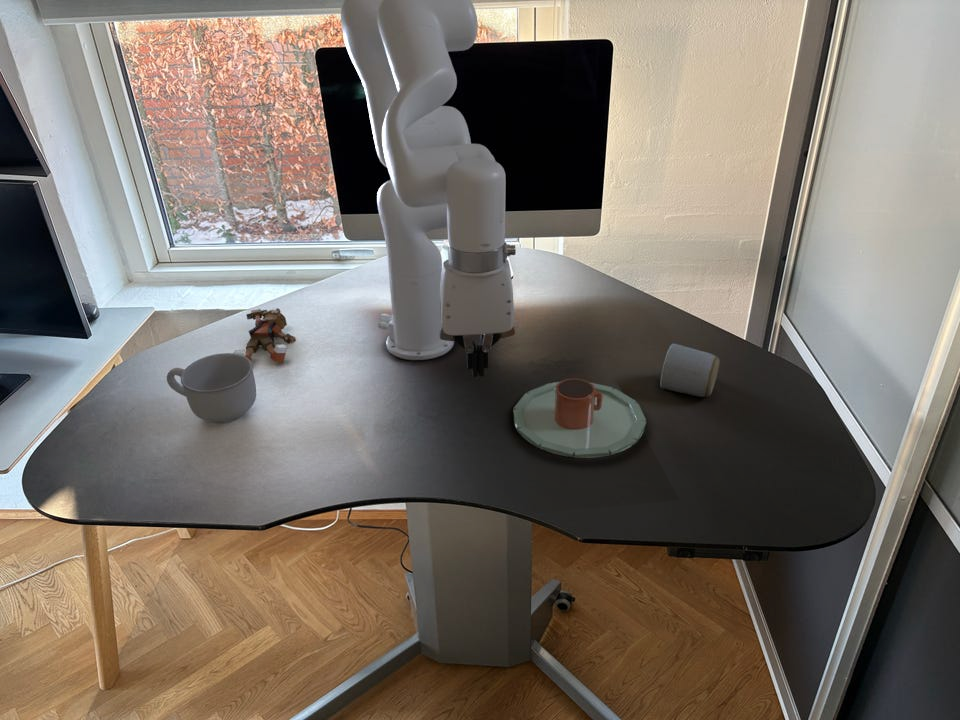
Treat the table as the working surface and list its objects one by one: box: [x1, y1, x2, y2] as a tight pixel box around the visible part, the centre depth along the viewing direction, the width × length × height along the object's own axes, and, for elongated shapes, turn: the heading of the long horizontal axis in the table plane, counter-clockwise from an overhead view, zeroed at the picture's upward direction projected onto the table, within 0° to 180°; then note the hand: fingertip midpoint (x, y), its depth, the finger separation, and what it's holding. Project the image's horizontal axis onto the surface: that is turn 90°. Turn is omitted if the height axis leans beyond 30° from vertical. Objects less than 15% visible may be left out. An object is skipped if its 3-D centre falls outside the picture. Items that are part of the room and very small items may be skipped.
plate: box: [512, 381, 647, 459], centre depth 111 cm, size 20×20×2 cm
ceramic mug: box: [659, 343, 720, 398], centre depth 119 cm, size 11×8×8 cm
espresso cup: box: [554, 378, 603, 430], centre depth 110 cm, size 7×6×6 cm
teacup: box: [166, 352, 257, 423], centre depth 115 cm, size 14×11×8 cm
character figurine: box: [233, 307, 297, 364], centre depth 136 cm, size 12×5×18 cm
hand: (477, 371), depth 106 cm, fingers closed
